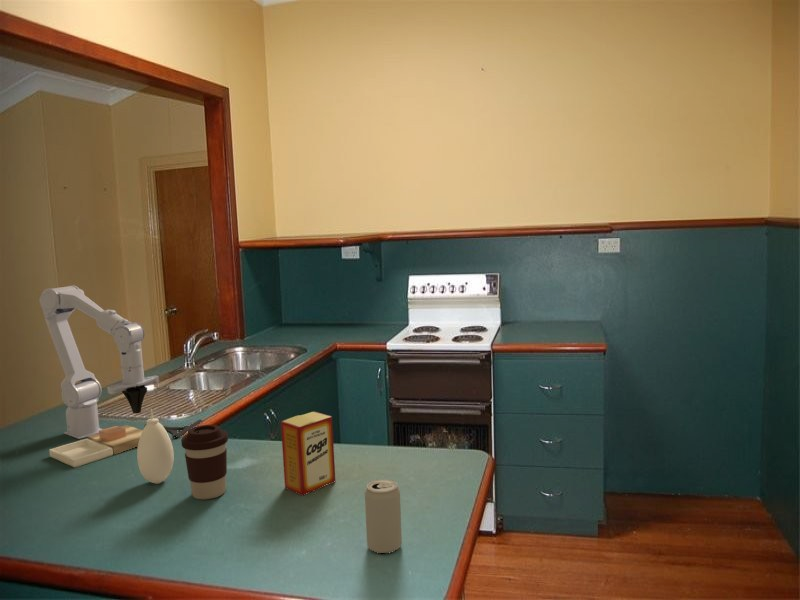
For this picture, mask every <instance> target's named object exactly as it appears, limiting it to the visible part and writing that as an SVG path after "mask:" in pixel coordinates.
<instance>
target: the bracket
mask: <svg viewBox="0 0 800 600" xmlns="http://www.w3.org/2000/svg"><path fill="white" fill-rule="evenodd" d="M202 421H203V420H202V419H198V420H196V421H195V422H193V424H192V423H190V424H191V425H190V426H184V425H183V426H184V427H178V426H166V425H162V426H163V427H164V428H165V430H166V432H168V431H170V432H169V433H171V432H172V433H173V434H172V433H171V434H172V439H173V438H174V437H176V436H177V437H176V439H177V438H179V437H180V436H182V435H183V436H185V435H186V434H187V433H186V432H187V431H189V430H190V429H191V428H193V427H194V426H196V425H197V424H199V423H200V422H202ZM146 424H147V423H146ZM146 424H144V427H145V426H146ZM144 427H143V428H144ZM177 430H182V431H179V433H177ZM185 433H186V434H185ZM184 434H185V435H184ZM183 436H182V437H183ZM180 438H181V437H180ZM180 438H179V439H180ZM174 439H175V438H174Z"/></svg>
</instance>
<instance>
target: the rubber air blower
mask: <svg viewBox="0 0 800 600" xmlns="http://www.w3.org/2000/svg"><path fill="white" fill-rule="evenodd" d="M145 423H146V426H145V425H144V426H145V427H143V429H142V430H143V431H142V433H141V436H140V439H139V443H138V447H137V448H136V449H137V451H136V457H137V459H136V460H137V465H138V468H139V471H140V473H141V475H142V477H143V478H144V479H145V480H146V481H149V482H150V483H153V484H156V485H157V484H161V483H162V482H165V480H166V478H168V477H169V476H170V475H171V472H172V470H173V466H174V462H175V461H174V459H175V458H174V457H175V456H174V455H175V454H174V453H175V452H174V448H173V447H174V446H173V443H172V440H171V438H170V436H169V434H168V431H166V430H165V428H164V427H163V426H164V425H163V424H162V423H161V422H160V420H159V419H158V418H157V417H154V411H153V409H152V408H151V409H150V418H149V419H147V420H146V422H145Z"/></svg>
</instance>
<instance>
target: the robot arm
mask: <svg viewBox="0 0 800 600" xmlns="http://www.w3.org/2000/svg"><path fill="white" fill-rule="evenodd" d="M38 301H39V304H40V307H41V309H42V313H43V316H44V320H45V324H46V325H47V330H48V332H49V335H50V337H51V339H52V342H53V345H54V349H55V350H56V354H57V356H58V359H59V362H60V364H61V367H62V370H63V372H64V375H65V377H64V378H63V380H62V381H61V382H60V389H61V399H62V402H63V403H64V404H65V406H67V408H66V411H65V421H66V430H67V431H64V432H63V433H64V435H67V436H70V437H73V438H75V439H78V440H82V439H86V438H88V436H91V435H95V434H98V433H99V430H103V429H104V428H101V427H100V423H99V421H100V420H99V412H98V411H99V410H98V402H99V398H100V397H101V396H102V391H103V390H102V389H103V388H102V385H101V383H100V381H99V380H98V379H97V378H96V376H95V374H94V373H93V372H91V371H90V370H87V369H86V368H85V366H84V362H83V359H82V356H81V354H80V352H79V348H78V346H77V344H76V343H77V342H76V341H75V338H74V335H73V332H72V329H71V326H70V324H69V321H68V320H69V318H70V315H72V313H74V312H75V310H78V311H80V312H82V313H83V314H85V315H87V316H88V317H90V318H92V319H94V320H95V321H96V326H97V327H99V328H100V329H101V330H103V331H105V332H106V333H107V334H109V335H111V336H112V338H113V341H114V343H115V344H116V346H117V351H118V352H119V356H120V367H121V368H120V369H121V376H122V379H121V380H122V381H121V382H118V383H116V384H113V385H109V386H107V394H110V395H114V394H116V393H122V394H123V395H124V397H125V398H126V400H127V401H128V403H129V405H130V408H131V411H132V413H133V414H135V415H137V414H140V413H141V412H142V407H143V401H144V399H145V397H146V396H145V395H146V394H147V392H148V387H147V386H148V385H153V384H159V383H160V377H159V376H158V375H152V376H145V372H144V362H143V350H142V341H143V340H144V339H145V335H146V333H145V329H144V327H143V325H141V324H140V323H139V322H136V321H135V322H134V321H133V322H132V321H129V320H128V319H127V318H124V317H122V316H121V315H119V314H118V313H117V311H116V310H114V309H105V310H104V309H103V308H102V307H101V306H100V305H98V304H97V303H96V302H94V301H93V300H91V299H90V298H89V297H88V296H86V295H85V292H84V290H83V289H81V288H79V287H78V286H77V285H73V284H72V285H68V286H63V287H61V286H60V287H55V288H50V287H49V288H46V289H43V291H42V293H41V294H40V297H39V299H38Z"/></svg>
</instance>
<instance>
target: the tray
mask: <svg viewBox="0 0 800 600" xmlns="http://www.w3.org/2000/svg"><path fill="white" fill-rule="evenodd" d="M48 451H49V457H50V458H53V459H54V460H56V461H59V462H61V463H64V464H66V465H67V466H69V467H72V468H74V469H75V468H77V467H81V466H85V465H88V464H91V463H93V462H94V463H95V462H97V461H99V460H103V459H106V458H109V457H112V456H114V455H113V448H111V447H109V446H106V445H103V444H101V443H98V442H95V441H93V440H90V439H88V438H83V439H79V440H77V441H75V442H71V443H67V444H63V445H60V446H57V447H53V448H49V450H48Z"/></svg>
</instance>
